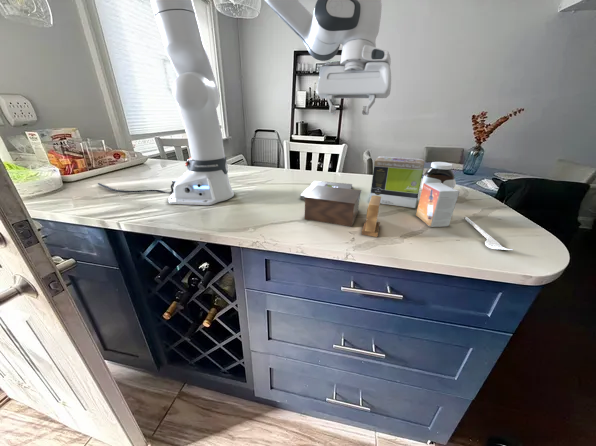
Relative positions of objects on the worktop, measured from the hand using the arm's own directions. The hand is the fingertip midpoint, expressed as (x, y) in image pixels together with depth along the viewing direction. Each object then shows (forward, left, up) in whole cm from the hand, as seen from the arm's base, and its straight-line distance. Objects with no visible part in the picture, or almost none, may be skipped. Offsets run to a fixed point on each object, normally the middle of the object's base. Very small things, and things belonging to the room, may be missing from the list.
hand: (348, 113), depth 68 cm
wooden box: (-4, -6, -28) cm, 29 cm away
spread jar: (+41, +11, -29) cm, 51 cm away
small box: (+24, -13, -29) cm, 39 cm away
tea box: (+20, +4, -29) cm, 35 cm away
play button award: (-1, +15, -29) cm, 33 cm away
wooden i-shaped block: (+4, -17, -28) cm, 33 cm away
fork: (+32, -22, -29) cm, 48 cm away
